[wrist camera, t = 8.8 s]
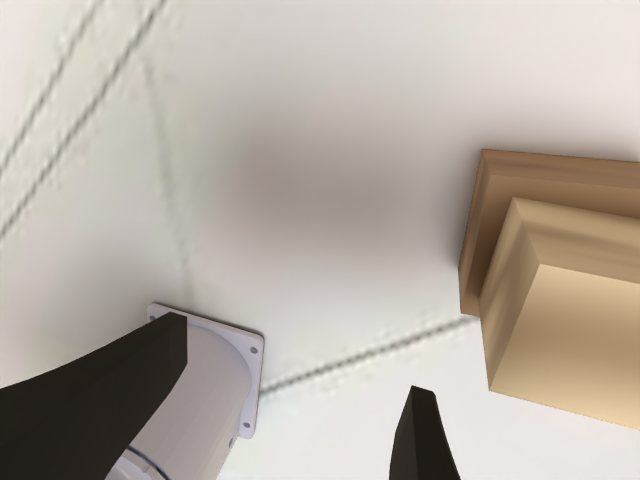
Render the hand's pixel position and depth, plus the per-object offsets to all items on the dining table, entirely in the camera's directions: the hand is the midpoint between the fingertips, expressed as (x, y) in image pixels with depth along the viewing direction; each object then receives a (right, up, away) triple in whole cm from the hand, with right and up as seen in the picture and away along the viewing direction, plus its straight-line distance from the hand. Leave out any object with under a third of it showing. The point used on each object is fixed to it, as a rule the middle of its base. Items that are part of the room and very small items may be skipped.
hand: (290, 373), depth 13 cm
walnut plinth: (+11, +5, +6) cm, 13 cm away
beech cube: (+10, +3, +3) cm, 11 cm away
